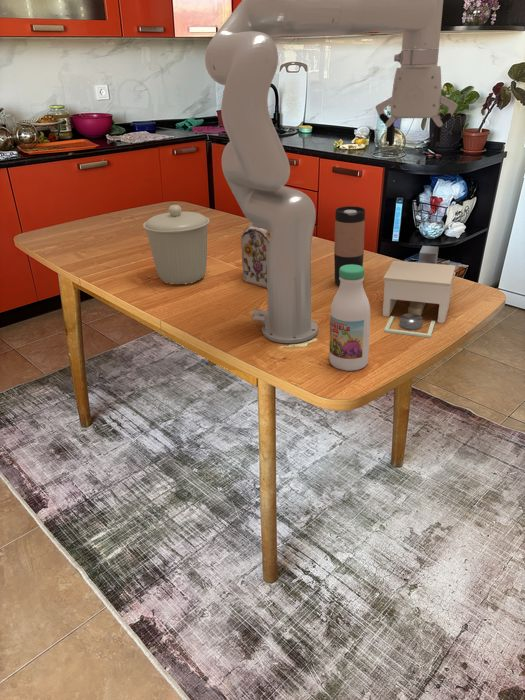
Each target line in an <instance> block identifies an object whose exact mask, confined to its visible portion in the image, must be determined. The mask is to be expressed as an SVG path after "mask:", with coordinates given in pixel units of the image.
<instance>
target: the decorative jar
mask: <svg viewBox="0 0 525 700" xmlns="http://www.w3.org/2000/svg"><path fill="white" fill-rule="evenodd" d="M240 237H241V239H240V242H241V245H240V247H241V265H242V267H241V268H242V277H243V281H244V282H246V283H248V282H249V284H251V283H252V285H256V286H258V287H261V286H262V288H265V289H267V267H266V252H267V247H268V244H269V241H270V238H271V232H270V231H268V230H265V229H263V228H260V227H258V226H255V225H254V224H252V223H251V222H249V223H248V225H247V227H246V228H245V229H244V230H243V232H242V233H241V235H240Z"/></svg>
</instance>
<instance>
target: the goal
mask: <svg viewBox="0 0 525 700" xmlns="http://www.w3.org/2000/svg"><path fill="white" fill-rule="evenodd" d="M394 319H395V316H392V315H391V316H389V318H388V321H387V323H386V324H385V327H384V329H383V332H384V333H391V334H397V335H398V334H400V335H406V336H413V337H423V338H429V339H431V338H432V334H433V330H434V327H435V325H436V320H431V321H430V325H429V327H428V331H427V333H425V332H419V331H418V332H416V331H411V330H401V329H395V328H394V329H393V328H391V326H392V324H393V321H394Z"/></svg>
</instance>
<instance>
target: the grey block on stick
mask: <svg viewBox="0 0 525 700" xmlns="http://www.w3.org/2000/svg"><path fill="white" fill-rule="evenodd" d="M438 255H439V246H431V245H422V247H421V249H420V251H419V255H418V263H430V264H438ZM425 305H426V303H425V302H415V301H410V303H409V306H408V308H407V314H416V315H419V316H422V314H423V311H424V308H425Z"/></svg>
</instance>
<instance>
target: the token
mask: <svg viewBox="0 0 525 700" xmlns="http://www.w3.org/2000/svg"><path fill="white" fill-rule="evenodd" d="M423 319H424V318H423V317H422V315H416V314H408V313H405V314H402V315H400V316H399V324H398V325H399V328H401V329H403V330H405V331H419V330H421V329H422V328H423V323H424V322H423Z"/></svg>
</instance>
